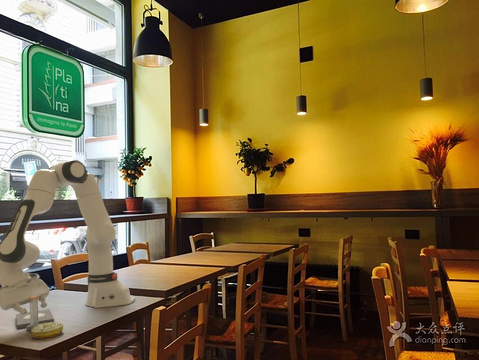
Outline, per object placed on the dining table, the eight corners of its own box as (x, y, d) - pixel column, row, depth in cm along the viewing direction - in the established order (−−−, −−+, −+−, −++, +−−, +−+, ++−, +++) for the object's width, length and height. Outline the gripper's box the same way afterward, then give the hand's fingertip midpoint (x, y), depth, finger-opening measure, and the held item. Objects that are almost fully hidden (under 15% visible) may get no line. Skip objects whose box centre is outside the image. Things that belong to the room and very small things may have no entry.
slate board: (15, 317, 165) (15, 314, 165) (49, 312, 172) (49, 308, 172) (17, 329, 150) (17, 324, 150) (54, 322, 157) (54, 318, 157)
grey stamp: (26, 330, 148) (26, 297, 148) (34, 327, 151) (33, 295, 152) (34, 331, 146) (33, 298, 147) (41, 328, 150) (41, 295, 150)
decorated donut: (55, 328, 150) (55, 318, 150) (68, 333, 143) (68, 323, 143) (26, 336, 142) (26, 325, 142) (39, 342, 135) (39, 331, 135)
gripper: (-5, 283, 142) (15, 312, 138) (41, 273, 161) (59, 298, 158) (-13, 295, 143) (6, 324, 140) (33, 283, 163) (51, 308, 159)
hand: (35, 310), depth 149 cm, fingers open, 8 cm apart
